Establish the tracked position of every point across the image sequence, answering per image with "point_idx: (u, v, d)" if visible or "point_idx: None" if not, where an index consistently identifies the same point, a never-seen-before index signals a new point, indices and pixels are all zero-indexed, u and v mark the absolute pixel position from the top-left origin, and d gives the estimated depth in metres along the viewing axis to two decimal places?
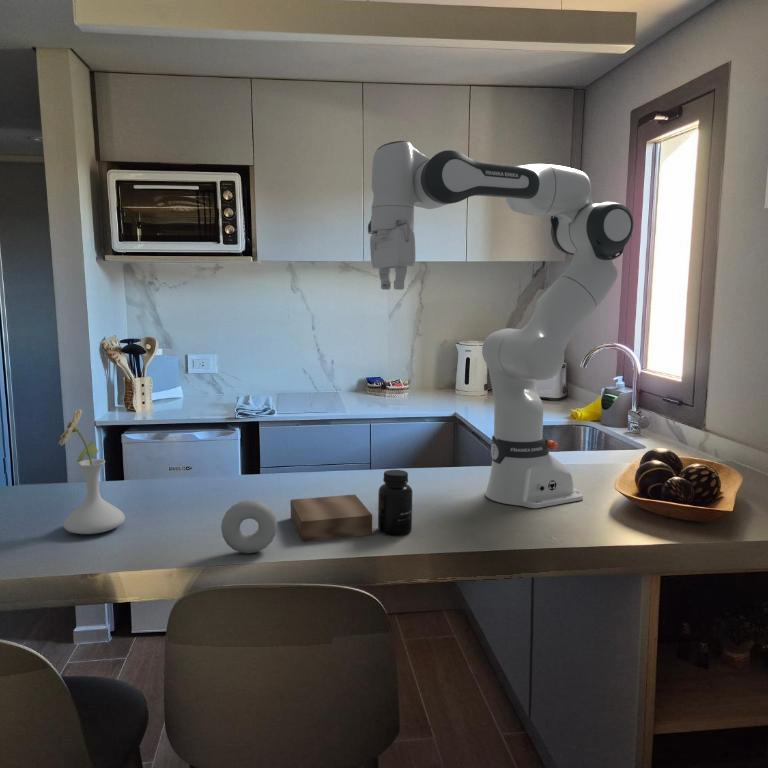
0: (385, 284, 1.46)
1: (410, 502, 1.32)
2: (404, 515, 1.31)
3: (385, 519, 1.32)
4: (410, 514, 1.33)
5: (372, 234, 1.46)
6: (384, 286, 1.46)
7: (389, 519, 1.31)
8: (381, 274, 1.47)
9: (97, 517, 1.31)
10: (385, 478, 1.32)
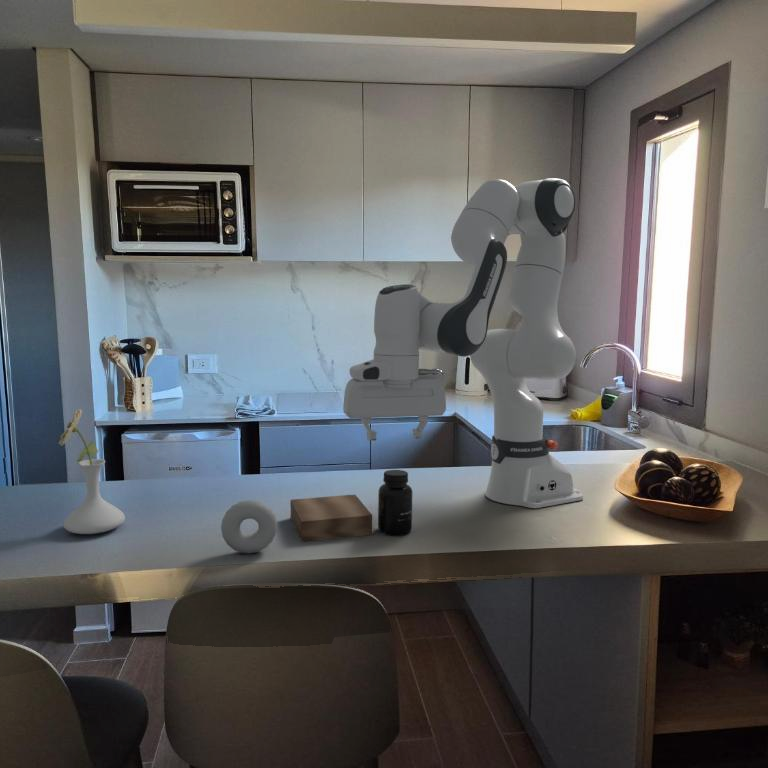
0: None
1: (410, 502, 1.32)
2: (404, 515, 1.31)
3: (385, 519, 1.32)
4: (410, 514, 1.33)
5: (369, 381, 1.26)
6: None
7: (389, 519, 1.31)
8: None
9: (97, 517, 1.31)
10: (385, 478, 1.32)
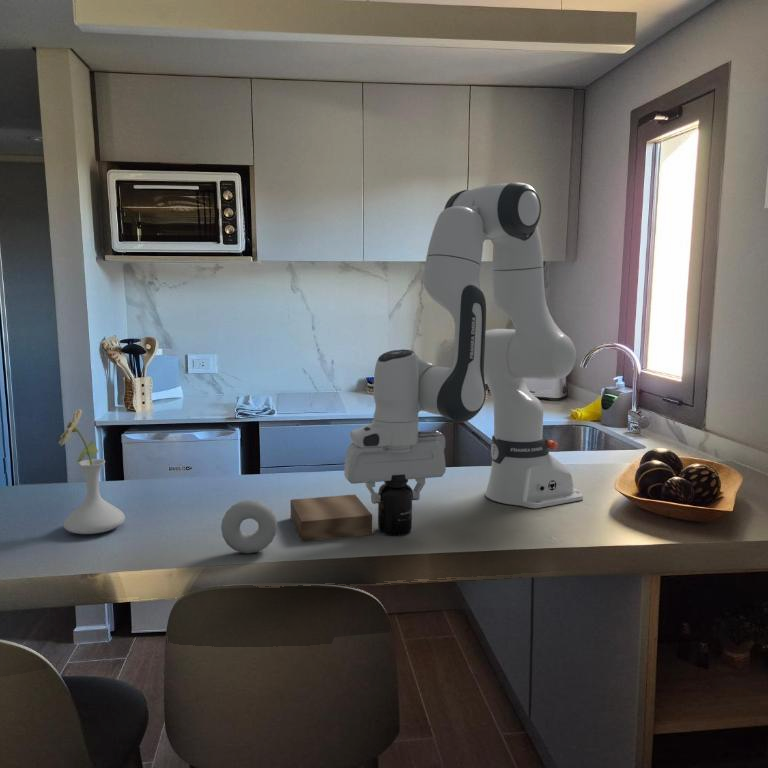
0: None
1: (410, 502, 1.32)
2: (404, 515, 1.31)
3: (385, 519, 1.32)
4: (410, 514, 1.33)
5: (369, 448, 1.28)
6: None
7: (389, 519, 1.31)
8: (372, 488, 1.32)
9: (97, 517, 1.31)
10: None
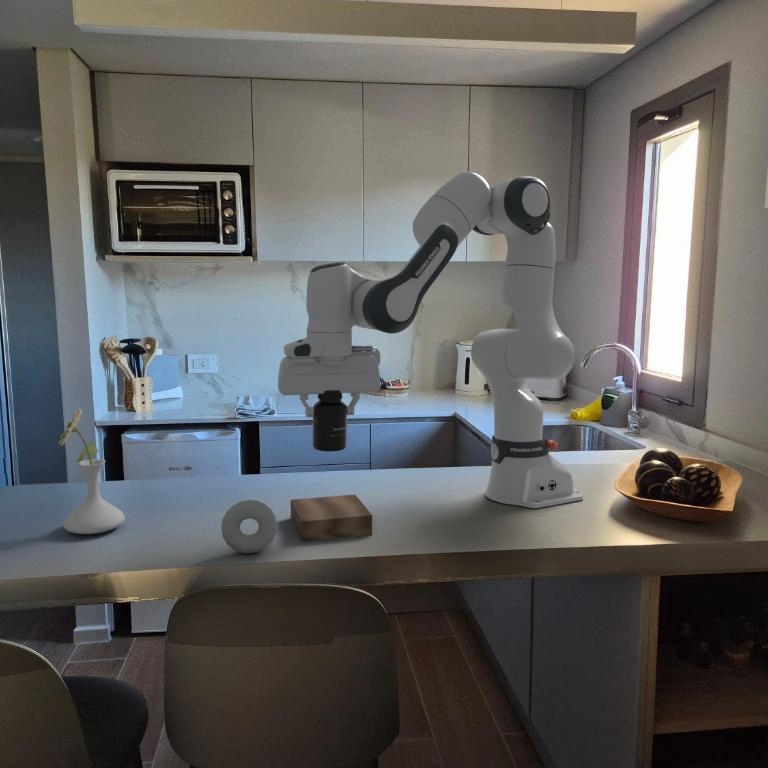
0: None
1: (344, 418, 1.32)
2: (337, 431, 1.32)
3: (319, 435, 1.32)
4: (344, 430, 1.33)
5: (301, 358, 1.28)
6: (313, 413, 1.33)
7: (322, 434, 1.31)
8: (305, 401, 1.32)
9: (97, 517, 1.31)
10: (319, 394, 1.32)
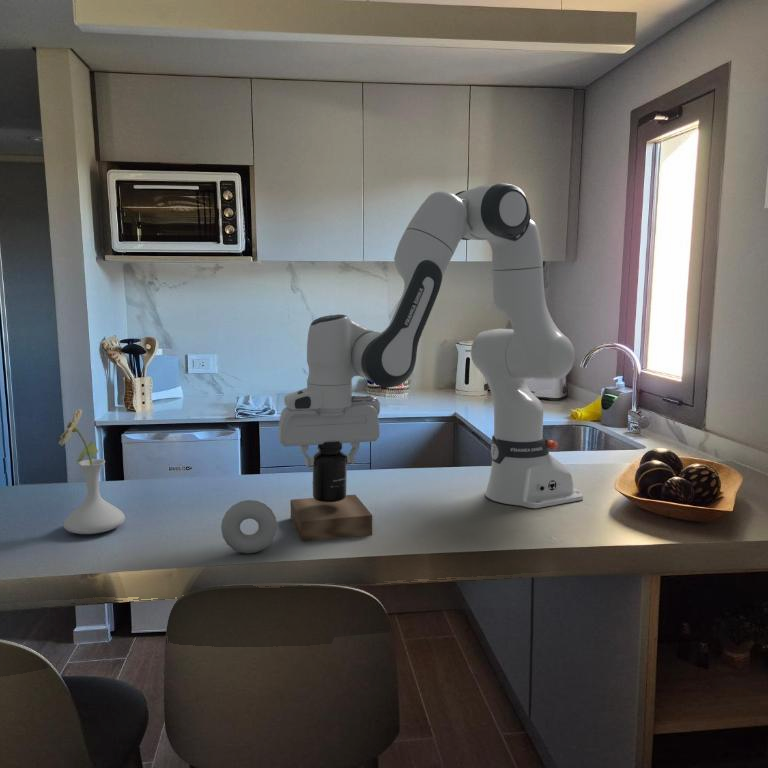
0: None
1: (343, 469, 1.34)
2: (337, 482, 1.33)
3: (319, 486, 1.33)
4: (344, 481, 1.34)
5: (301, 410, 1.30)
6: (313, 463, 1.34)
7: (322, 485, 1.33)
8: (305, 451, 1.33)
9: (97, 517, 1.31)
10: (319, 445, 1.34)
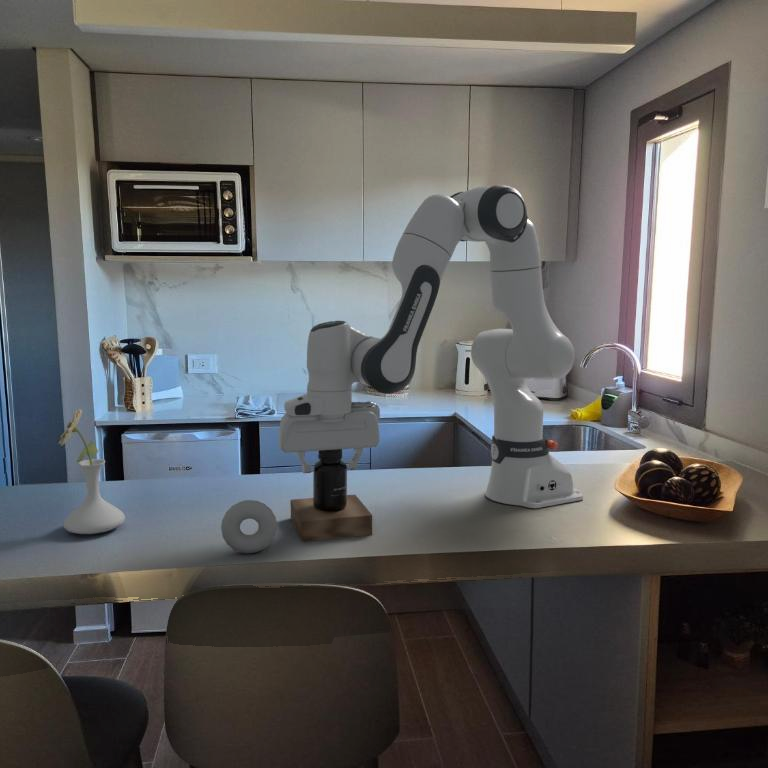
0: None
1: (344, 478, 1.34)
2: (337, 491, 1.33)
3: (319, 495, 1.34)
4: (344, 490, 1.35)
5: (301, 417, 1.30)
6: None
7: (323, 494, 1.33)
8: (302, 457, 1.33)
9: (97, 517, 1.31)
10: (319, 454, 1.34)
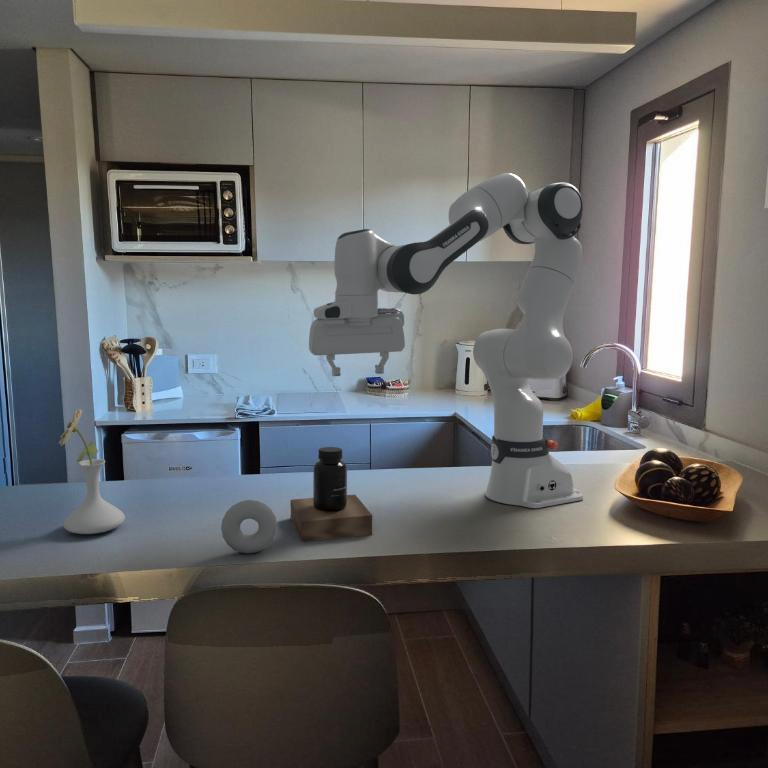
0: None
1: (344, 478, 1.34)
2: (337, 491, 1.33)
3: (319, 495, 1.34)
4: (344, 490, 1.35)
5: (331, 320, 1.36)
6: None
7: (323, 494, 1.33)
8: None
9: (97, 517, 1.31)
10: (319, 454, 1.34)
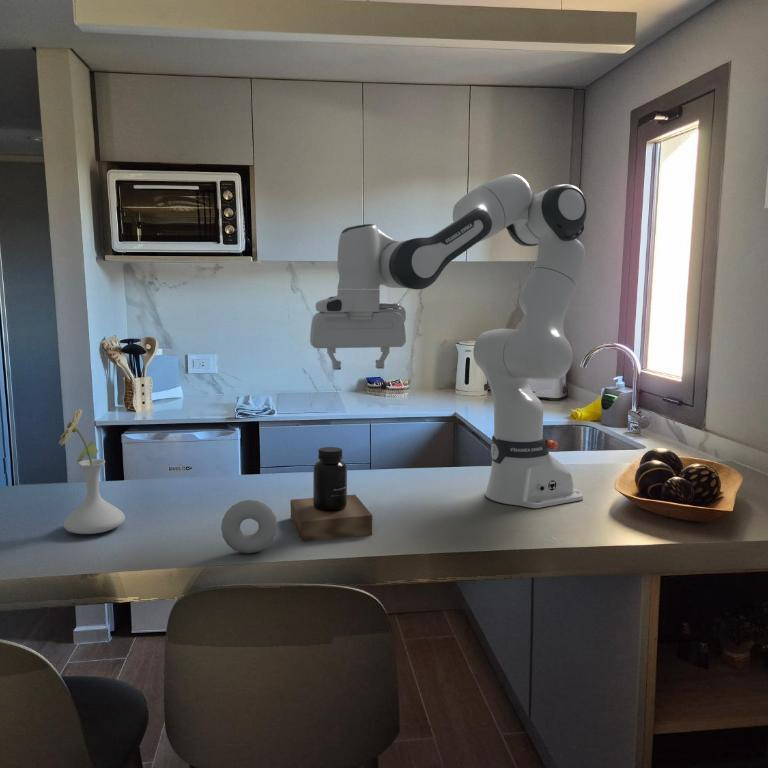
0: None
1: (344, 478, 1.34)
2: (337, 491, 1.33)
3: (319, 495, 1.34)
4: (344, 490, 1.35)
5: (333, 313, 1.37)
6: None
7: (323, 494, 1.33)
8: None
9: (97, 517, 1.31)
10: (319, 454, 1.34)
